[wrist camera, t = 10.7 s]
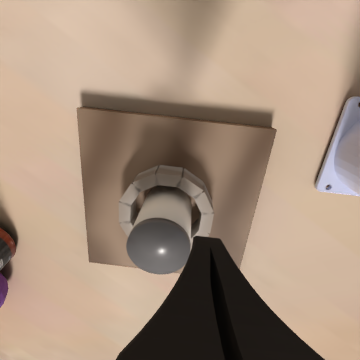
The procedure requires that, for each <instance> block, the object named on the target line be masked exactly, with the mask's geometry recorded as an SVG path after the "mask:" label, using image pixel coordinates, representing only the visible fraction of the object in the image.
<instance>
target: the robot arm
mask: <svg viewBox="0 0 360 360" xmlns="http://www.w3.org/2000/svg"><path fill="white" fill-rule="evenodd" d="M359 102H360V97H356V96H354V97H350V98H349V99H348V100H347V101H346V103H345V106H344V108H343V111H342V114H341V116H340V119H339V122H338V125H337V127H336V130H335V133H334V135H333V138H332V141H331V143H330V146H329V149H328V151H327V154H326V157H325V160H324V162H323V165H322V168H321V170H320V173H319V176H318V178H317V181H316V184H315V188H316V189H317V190H318V191H320V192H329V193H337V194H346V195H355V196H360V107H358V103H359ZM327 185H329V187H328V188H326V186H327ZM116 360H325V359H323V358H322V357H321V356H320V355H319V354H317V353H316V352H315V351H314V350H313V349H312V348H311V347H309V346H308V345H307V344H306V343H305V342H304V341H303V340H302V339H300V338H299V337H298V336H297V335H296V334H295V333H294V332H293V331H292V330H291V329H290V328H289V327H288V326H287V325H286V324H285V323H284V322H283V321H282V320H281V319H280V318H279V317H278V316H277V315H276V314H275V313H274V312H273V311H272V310H271V309H270V308H269V307H268V306H267V304H266V303H265V302H264V301H263V300H262V299H261V297H260V296H259V295H258V294H257V293H256V291H255V290H254V289H253V288H252V286H251V285H250V284H249V282H248V281H247V280H246V278H245V277H244V275H243V274H242V273H241V271H240V270H239V268H238V267H237V265H236V264H235V262H234V260H233V259H232V257H231V256H230V254H229V252H228V251H227V249H226V247H225V245H224V244H223V242H222V240H221V239H220V238H212V237H203V236H195V237H193V243H192V249H191V252H190V255H189V257H188V260H187V262H186V265H185V267H184V269H183V271H182V273H181V275H180V277H179V278H178V280H177V282H176V284H175V285H174V287H173V289H172V290H171V292H170V293H169V295H168V296H167V298H166V299H165V301H164V302H163V304H162V305H161V306H160V308H159V309H158V310H157V312H156V313H155V314H154V315H153V317H152V318H151V319H150V320H149V321H148V323H147V324H146V325H145V326H144V328H143V329H142V330H141V331H140V332H139V333H138V334H137V335H136V336H135V338H134V339H133V340H132V341H131V342H130V343H129V344H128V345H127V346H126V347H125V348H124V349H123V350H122V351H121V352H120V353H119V355H118V357H117V359H116Z"/></svg>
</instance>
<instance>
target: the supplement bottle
mask: <svg viewBox="0 0 360 360" xmlns="http://www.w3.org/2000/svg"><path fill="white" fill-rule="evenodd" d="M15 252H16V246H15V243H14V241H13V239H12V238H11V236H10V235H9V234H8V233H7V232H6V231H4V230H3V229H2V228H0V270H1V269H2V268H3V267H4V266H5V265H6V264H7V263H8V262H9V261H10V259H11V258H12V257H13V256H14V255H15Z"/></svg>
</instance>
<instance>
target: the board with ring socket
mask: <svg viewBox="0 0 360 360" xmlns="http://www.w3.org/2000/svg"><path fill="white" fill-rule="evenodd" d="M77 119H78V131H79V143H80V156H81V168H82V180H83V193H84V205H85V217H86V230H87V242H88V254H89V262H93V263H101V264H109V265H117V266H125V267H133V268H139V267H138V266H136V265H135V264H134V263H133V262H132V261H131V259H130V258H129V256H128V253H127V249H126V243H127V239H128V237H129V235H130V232H131V230H132V228H133V226H134V223H135V221H136V219H137V217H138V214H139V212H140V210H141V208H142V205H143V203H144V201H145V199H146V196H147V195H148V193H149V192H150V191H151V190H152V189H153V188H155V187H157V186H160V185H162V186H171V187H178V188H180V189H181V190H183V191H184V192H186V193H187V195H188V196H189V198H190V200H191V204H192V211H191V247H190V252H191V249H192V243H193V237H195V236H203V237H212V238H220V239H221V240H222V242H223V244H224V245H225V247H226V249H227V251H228V252H229V254H230V256H231V257H232V259H233V260H234V262H235V264H236V265H237V267H238V268H239V269H240V265H241V261H242V258H243V254H244V250H245V246H246V243H247V239H248V235H249V232H250V228H251V224H252V220H253V217H254V213H255V209H256V205H257V202H258V198H259V194H260V190H261V187H262V183H263V179H264V175H265V172H266V168H267V164H268V161H269V157H270V153H271V149H272V146H273V142H274V138H275V134H276V131H277V130H276V129H274V128H272V127H263V126H253V125H244V124H235V123H226V122H217V121H208V120H199V119H190V118H181V117H171V116H162V115H153V114H144V113H135V112H126V111H117V110H108V109H99V108H89V107H80V108H77ZM185 265H186V264H185ZM185 265H184V266H183V267H182V268H181V269H179V270H178V271H175V272H173V273H182V271H183V269H184V267H185Z"/></svg>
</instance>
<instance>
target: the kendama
mask: <svg viewBox="0 0 360 360" xmlns="http://www.w3.org/2000/svg"><path fill="white" fill-rule="evenodd" d="M7 292H8V283H7V279H6V278H5V277H4V276H3V275H2V274H1V273H0V307H1V306H2V305H3V303H4V301H5V298H6V295H7Z"/></svg>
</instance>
